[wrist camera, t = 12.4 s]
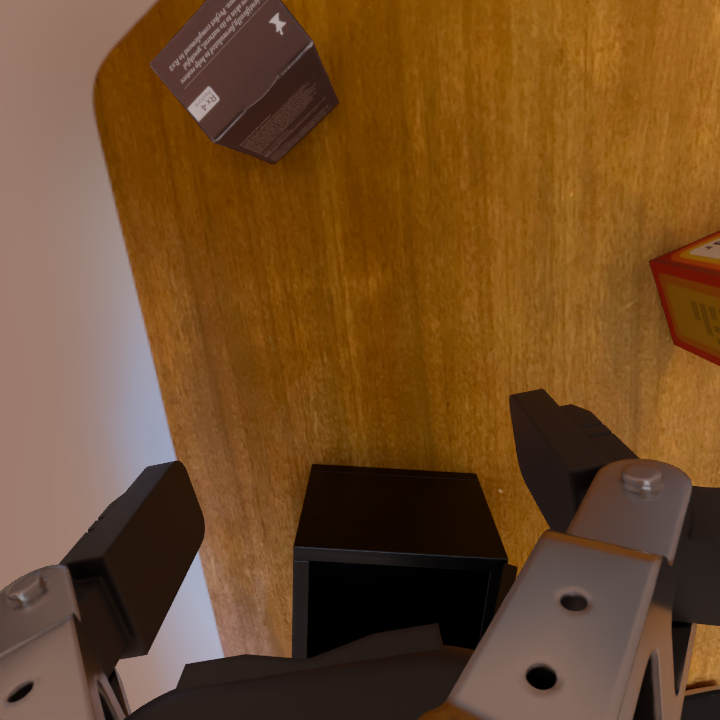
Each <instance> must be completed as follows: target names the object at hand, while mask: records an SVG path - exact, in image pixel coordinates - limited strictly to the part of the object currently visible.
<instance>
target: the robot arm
mask: <svg viewBox="0 0 720 720" xmlns="http://www.w3.org/2000/svg"><path fill="white" fill-rule="evenodd" d="M509 404H510V412H511V418H512V425H513V432H514V439H515V445H516V452H517V458H518V463H519V467H520V470H521V473H522V476H523V479H524V481H525V483H526V485H527V487H528V489H529V491H530V492H531V494H532V496H533V498H534V500H535V501H536V503H537V505H538V507H539V509H540V510H541V512H542V514H543V516H544V518H545V520H546V521H547V523H548V525H549V527H550V529H548V530H546V531H545V532H544V533H543V534H542V535H541V537H540V538H539V540H538V542H537V543H536V545H535V547H534V549H533V550H532V552H531V554H530V556H529V557H528V559H527V561H526V562H525V564H524V566H523V568H522V569H521V571H520V573H519V575H518V576H517V578H516V580H515V582H514V583H513V585H512V587H511V589H510V590H509V592H508V594H507V596H506V597H505V599H504V601H503V602H502V604H501V606H500V608H499V609H498V611H497V613H496V615H495V616H494V618H493V620H492V622H491V623H490V625H489V627H488V629H487V630H486V632H485V634H484V635H483V637H482V639H481V641H480V642H479V644H478V646H477V648H476V649H475V650H472V649H467V648H462V647H457V646H449V645H443V643H442V639H441V634H440V630H439V625H438V623H435V624H429V625H422V626H416V627H410V628H404V629H398V630H392V631H386V632H380V633H374V634H371V635H369V636H366V637H363V638H361V639H358V640H356V641H353V642H351V643H348V644H345V645H343V646H340V647H338V648H335V649H333V650H330V651H327V652H325V653H322V654H320V655H317V656H314V657H311V658H307V659H296V658H284V657H272V656H259V655H247V654H245V655H239V656H233V657H227V658H220V659H215V660H208V661H202V662H196V663H190V664H186V665H185V667H184V670H183V672H182V675H181V677H180V680H179V682H178V685H177V687H176V689H174V690H172V691H169V692H167V693H165V694H163V695H161V696H159V697H157V698H155V699H153V700H152V701H150V702H148V703H147V704H145V705H143V706H142V707H140V708H139V709H137V710H136V711H135V712H133V713H131V710H130V707H129V704H128V700H127V697H126V694H125V691H124V687H123V684H122V681H121V678H120V676H119V674H118V672H117V670H116V668H115V666H116V664H117V662H118V661H119V659H125V658H131V657H137V656H143V655H147V654H148V651H149V650H150V648H151V645H152V643H153V641H154V639H155V637H156V635H157V633H158V631H159V629H160V627H161V625H162V623H163V621H164V619H165V617H166V615H167V613H168V611H169V609H170V607H171V605H172V602H173V601H174V598H175V596H176V594H177V592H178V590H179V588H180V586H181V584H182V582H183V580H184V578H185V576H186V574H187V572H188V570H189V568H190V565H191V564H192V562H193V560H194V558H195V556H196V554H197V552H198V550H199V548H200V546H201V544H202V541H203V538H204V533H205V523H204V517H203V514H202V511H201V508H200V505H199V503H198V500H197V497H196V494H195V492H194V489H193V486H192V484H191V481H190V478H189V475H188V473H187V470H186V468H185V466H184V465H183V463H181V462H180V461H173V462H168V463H163V464H158V465H153V466H148V467H146V469H144V471H143V472H142V473H141V474H140V475H139V477H138V478H137V479H136V480H135V482H134V483H133V484H132V485H131V486H130V487H129V488H128V490H127V491H126V492H125V493H124V494H123V495H121V496H120V497H119V498H117V499H116V500H115V501H114V502H112V503H111V504H110V505H109V506H108V507H107V508H106V510H105V511H104V512H103V513H102V514H101V515H100V516H99V518H98V521H95V522H94V524H93V525H92V526H91V527H90V528H89V529H88V533H85V534H84V535H83V537H82V538H81V539H80V540H79V541H78V542H77V543H76V544H75V546H74V547H73V548H72V549H71V550H70V551H69V553H68V554H67V555H66V556H65V557H64V558H63V560H62V561H61V562H60V563H59V564H58V565H51V566H46V567H43V568H40V569H37V570H35V571H32V572H30V573H28V574H26V575H24V576H22V577H20V578H19V579H17V580H15V581H14V582H12V583H11V584H9V585H8V586H6V587H5V588H4V589H2V590H1V591H0V720H680V718H681V712H682V706H683V701H684V695H685V690H686V684H687V678H688V673H689V667H690V662H691V656H692V651H693V645H694V639H695V634H696V628H697V624H705V625H715V626H720V488H710V487H698V486H692V482H691V480H690V478H689V477H688V475H687V474H686V473H684V472H683V471H682V470H680V469H679V468H677V467H675V466H673V465H670V464H667V463H664V462H660V461H656V460H650V459H640V458H639V457H638V456H636V455H635V454H634V453H633V452H632V451H631V450H630V449H629V448H628V447H627V446H626V445H625V444H624V443H623V442H622V441H621V440H620V439H619V438H618V437H617V436H616V435H614V434H612V433H611V431H610V430H609V429H608V428H607V427H606V426H605V425H602V422H601V421H600V420H599V419H598V418H597V417H596V416H595V415H594V414H592V413H591V412H590V411H588V410H585V409H583V408H580V407H577V406H575V405H572V404H570V405H565V406H560V407H559V405H558V404H557V403H556V402H555V401H554V400H553V399H552V398H551V397H550V396H549V395H548V393H547V392H546V391H545V390H544V389H538V390H533V391H528V392H523V393H518V394H513V395H510V397H509Z"/></svg>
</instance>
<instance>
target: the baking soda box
mask: <svg viewBox="0 0 720 720" xmlns="http://www.w3.org/2000/svg"><path fill="white" fill-rule="evenodd" d="M649 262H650V265H651V269H652V272H653V275H654V279H655V282H656V285H657V289H658V292H659V295H660V299H661V302H662V305H663V309H664V312H665V315H666V319H667V322H668V325H669V329H670V332H671V335H672V339H673V342H674V345H677V346H679V347H681V348H683V349H685V350H687V351H689V352H691V353H693V354H696V355H698V356H700V357H702V358H704V359H706V360H708V361H710V362H712V363H715V364H717V365H719V366H720V231H718V232H716V233H713V234H711V235H709V236H706V237H704V238H702V239H700V240H697V241H695V242H693V243H690V244H688V245H686V246H683V247H681V248H679V249H676V250H674V251H672V252H669V253H667V254H665V255H663V256H660V257H658V258H656V259H653V260H651V261H649Z"/></svg>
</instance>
